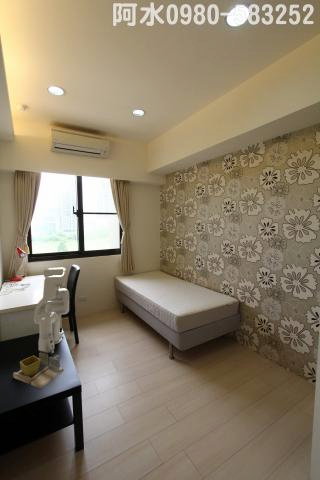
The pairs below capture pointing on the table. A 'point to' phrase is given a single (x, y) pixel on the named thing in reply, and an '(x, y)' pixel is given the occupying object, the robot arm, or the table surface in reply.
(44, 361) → the wooden frame with block
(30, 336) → the table surface
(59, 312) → the robot arm
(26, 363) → the flower pot
